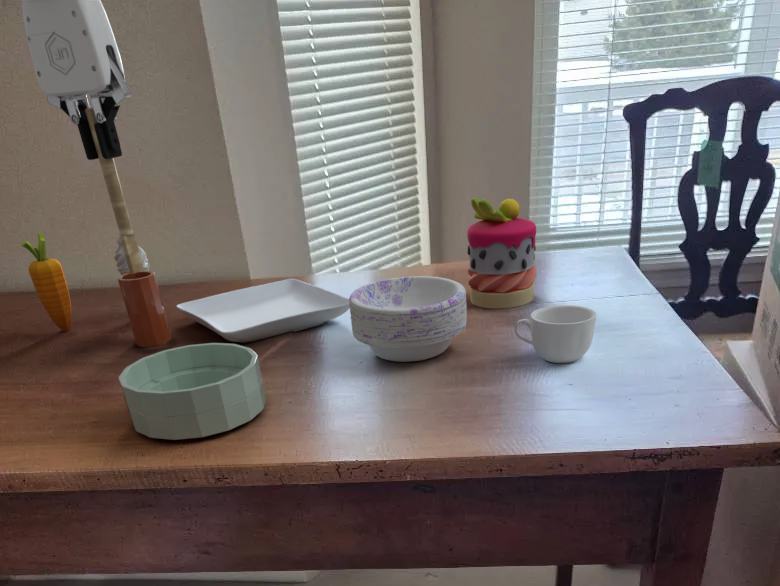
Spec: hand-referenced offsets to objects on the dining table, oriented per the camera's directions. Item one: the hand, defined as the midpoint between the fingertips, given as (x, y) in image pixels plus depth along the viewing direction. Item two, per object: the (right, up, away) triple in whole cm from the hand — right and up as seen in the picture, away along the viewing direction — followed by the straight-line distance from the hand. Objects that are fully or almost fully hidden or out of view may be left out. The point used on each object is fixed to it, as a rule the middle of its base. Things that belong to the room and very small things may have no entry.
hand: (105, 156), depth 95 cm
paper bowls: (+40, -24, +4) cm, 47 cm away
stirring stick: (+1, -12, +8) cm, 15 cm away
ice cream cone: (-4, -13, +27) cm, 30 cm away
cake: (+54, -12, +20) cm, 59 cm away
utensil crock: (+2, -21, +14) cm, 25 cm away
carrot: (-15, -17, +23) cm, 32 cm away
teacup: (+58, -27, -2) cm, 64 cm away
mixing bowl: (+15, -35, -9) cm, 39 cm away
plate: (+17, -16, +19) cm, 30 cm away
